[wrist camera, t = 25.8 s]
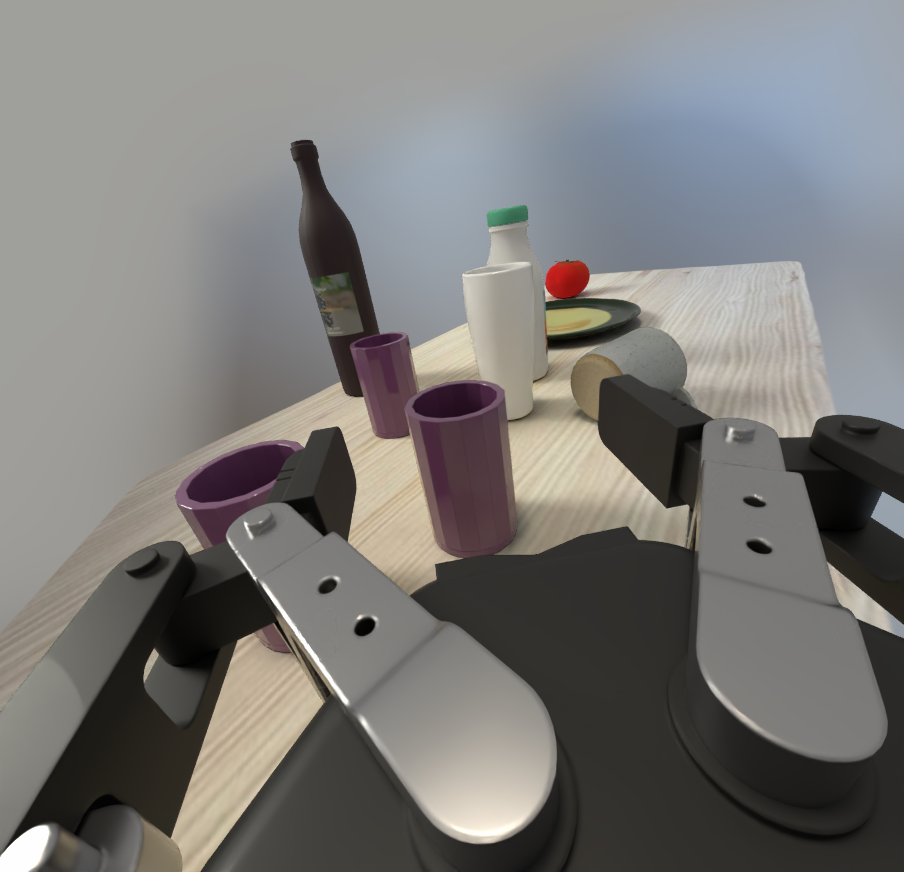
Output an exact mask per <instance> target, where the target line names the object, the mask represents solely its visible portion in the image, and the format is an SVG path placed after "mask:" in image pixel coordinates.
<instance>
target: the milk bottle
mask: <svg viewBox="0 0 904 872" xmlns="http://www.w3.org/2000/svg"><path fill="white" fill-rule="evenodd" d="M527 210H528V209H527V206H525V205H523V206H515V207H509V208H503V209H499V210H493V211H490V212H488V213H487V221H488V226H489V233H490V234H491V249H490V254H489V259H488V262H487V266H492V265H499V264H506V263H515V262H530V263H531V264H532V270H533V279H534V293H535V330H534V359H533V381H534V380H537V379H539V378H541V377H543V376H544V375H545V374H546V373H547V370H548V349H547V325H546V304H545V290H544V281H543V276H542V272H541V269H540V266H539V264H538V262H537V260H536V258H535V256H534V254H533V251H532V249H531V247H530V244H529V241H528V237H527V226H528V222H527V221H526V220H528V211H527ZM520 221H522V222H520ZM515 222H516V223H515ZM509 223H510V224H509ZM503 224H505V225H503ZM497 225H499V226H497ZM491 226H493V227H491ZM487 266H486V267H487Z"/></svg>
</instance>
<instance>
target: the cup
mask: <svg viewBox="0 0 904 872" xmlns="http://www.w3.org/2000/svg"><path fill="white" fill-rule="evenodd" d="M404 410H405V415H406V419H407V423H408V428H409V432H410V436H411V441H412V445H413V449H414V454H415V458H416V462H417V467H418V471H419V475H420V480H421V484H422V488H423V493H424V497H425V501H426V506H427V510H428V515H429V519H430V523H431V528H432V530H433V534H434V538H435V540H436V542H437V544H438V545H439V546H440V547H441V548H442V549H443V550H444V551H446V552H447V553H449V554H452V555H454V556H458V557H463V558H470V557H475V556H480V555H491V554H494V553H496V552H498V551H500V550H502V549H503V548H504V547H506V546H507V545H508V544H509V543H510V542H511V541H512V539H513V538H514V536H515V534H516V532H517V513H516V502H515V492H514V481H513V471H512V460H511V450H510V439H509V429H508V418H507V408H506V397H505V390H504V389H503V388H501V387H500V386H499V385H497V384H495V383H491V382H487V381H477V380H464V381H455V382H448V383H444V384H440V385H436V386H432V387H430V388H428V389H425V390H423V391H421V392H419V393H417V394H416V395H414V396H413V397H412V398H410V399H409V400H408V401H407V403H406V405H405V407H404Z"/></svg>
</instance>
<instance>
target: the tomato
mask: <svg viewBox="0 0 904 872" xmlns="http://www.w3.org/2000/svg"><path fill="white" fill-rule="evenodd" d="M589 277H590V274H589V270H588V268H587V266H586V265H585V264H584V263H583V262H580V261H569V260H566V261H563V262H559V263H557V264H556V265H554V266H552V267H551V268H550V269H549V271H548V273H547V276H546V282H545V284H546V289H547V290H548V292H549V293H550V294H551V295H553V296H554V297H558V298H568V297H572V296H576V295H577V294H579V293H580V292H582V291H583V290H584V289H585V287H586V286H587V284H588V281H589Z"/></svg>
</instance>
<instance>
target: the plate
mask: <svg viewBox="0 0 904 872" xmlns="http://www.w3.org/2000/svg"><path fill="white" fill-rule="evenodd" d="M545 304H546V325H547V340H560V339H569V338H576V337H582V336H587V335H592V334H596V333H600V332H603V331H607V330H610V329H613V328H616V327H618V326H621V325H623V324H625V323H626V322H629V321H631V320H633V319H634V318H636V317H637V316H638V315H639V314H640V312H641V308H640V307H639V306H638V305H636V304H634V303H631V302H628V301H624V300H618V299H599V298H578V299H564V300H555V301H548V302H545Z"/></svg>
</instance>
